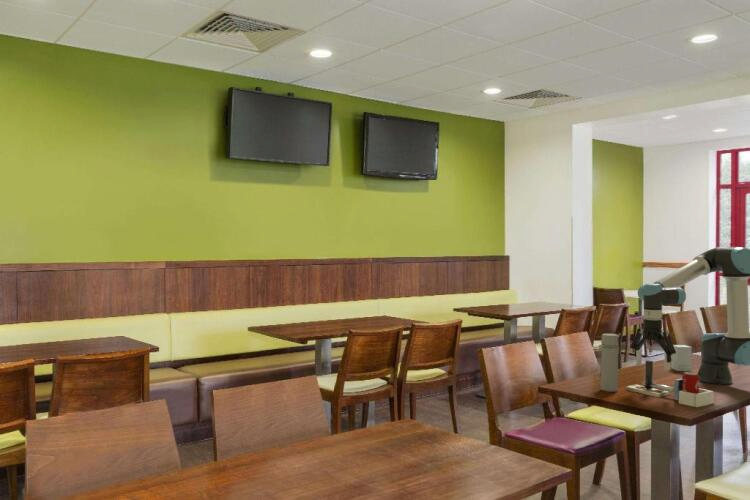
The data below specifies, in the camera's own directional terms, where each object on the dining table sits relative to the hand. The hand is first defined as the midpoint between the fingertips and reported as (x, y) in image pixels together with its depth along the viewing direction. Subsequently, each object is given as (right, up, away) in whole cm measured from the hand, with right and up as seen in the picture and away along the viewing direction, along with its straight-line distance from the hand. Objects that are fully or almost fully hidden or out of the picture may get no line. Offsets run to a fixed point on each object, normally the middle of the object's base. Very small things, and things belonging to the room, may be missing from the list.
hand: (652, 367), depth 286 cm
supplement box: (+38, -11, +54) cm, 67 cm away
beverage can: (+10, -12, -14) cm, 21 cm away
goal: (+11, -12, -17) cm, 23 cm away
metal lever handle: (+2, -11, -4) cm, 12 cm away
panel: (-2, -11, +2) cm, 12 cm away
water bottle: (-18, -11, +5) cm, 22 cm away
